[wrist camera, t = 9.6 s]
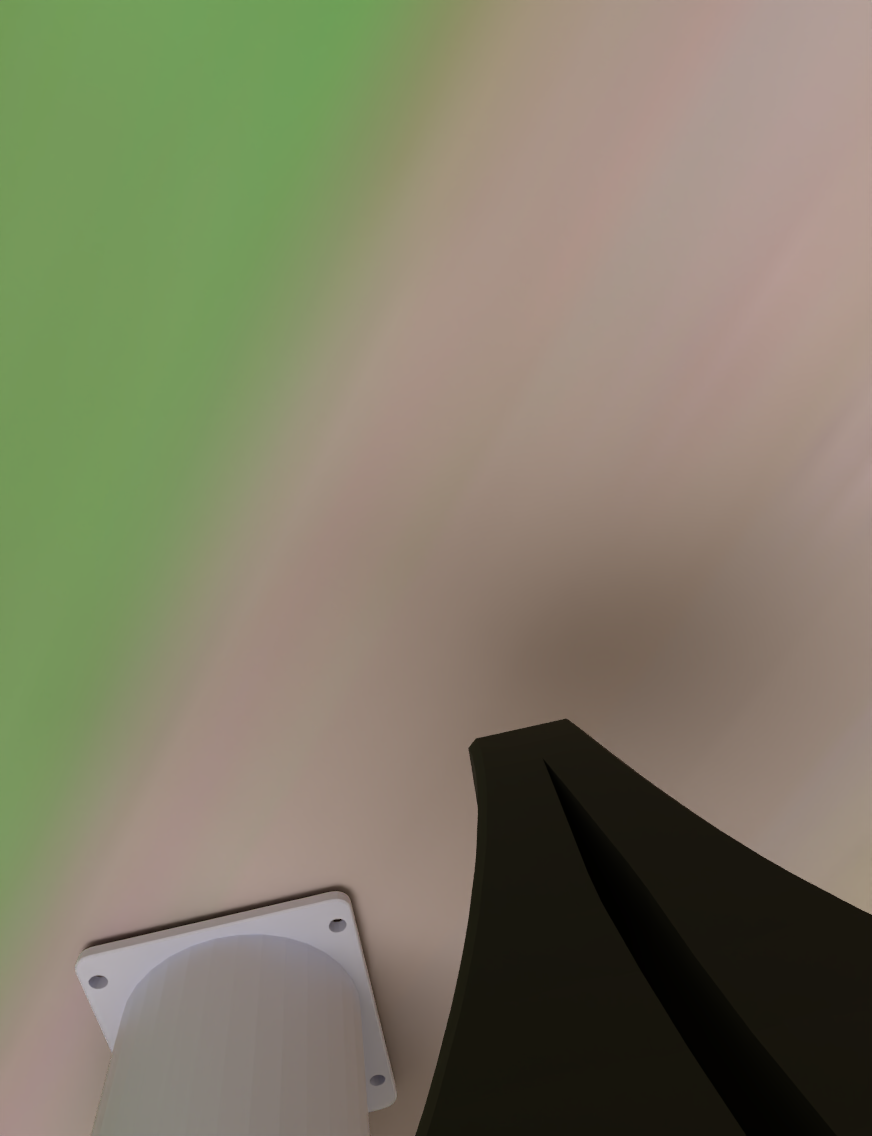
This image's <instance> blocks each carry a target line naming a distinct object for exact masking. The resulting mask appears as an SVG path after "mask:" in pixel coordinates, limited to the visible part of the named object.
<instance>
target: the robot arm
mask: <svg viewBox="0 0 872 1136" xmlns="http://www.w3.org/2000/svg"><path fill="white" fill-rule="evenodd" d="M469 754H470V760H471V766H472V773H473V779H474V786H475V792H476V798H477V805H478V825H477V849H476V863H475V872H474V880H473V888H472V896H471V904H470V912H469V919H468V926H467V932H466V938H465V943H464V949H463V954H462V960H461V965H460V970H459V974H458V979H457V984H456V988H455V993H454V998H453V1002H452V1007H451V1011H450V1015H449V1018H448V1022H447V1026H446V1030H445V1034H444V1038H443V1042H442V1046H441V1050H440V1054H439V1058H438V1062H437V1066H436V1069H435V1073H434V1076H433V1080H432V1083H431V1087H430V1090H429V1094H428V1097H427V1101H426V1104H425V1107H424V1111H423V1114H422V1117H421V1120H420V1123H419V1126H418V1129H417V1132H416V1135H415V1136H872V915H871V914H869V913H867V912H865V911H863V910H861V909H859V908H857V907H855V906H853V905H851V904H849V903H847V902H845V901H843V900H841V899H839V898H837V897H836V896H834V895H832V894H830V893H828V892H826V891H824V890H822V889H820V888H819V887H817V886H815V885H813V884H811V883H809V882H807V881H805V880H803V879H801V878H800V877H798V876H796V875H794V874H792V873H790V872H788V871H787V870H785V869H783V868H781V867H780V866H778V865H776V864H774V863H773V862H771V861H769V860H767V859H766V858H764V857H762V856H761V855H759V854H757V853H756V852H754V851H752V850H751V849H749V848H748V847H746V846H744V845H743V844H741V843H740V842H738V841H736V840H735V839H733V838H731V837H730V836H728V835H727V834H725V833H723V832H722V831H720V830H719V829H717V828H716V827H714V826H713V825H711V824H710V823H708V822H707V821H705V820H704V819H702V818H701V817H699V816H698V815H696V814H695V813H693V812H692V811H690V810H689V809H688V808H686V807H685V806H683V805H682V804H680V803H679V802H678V801H676V800H675V799H673V798H672V797H670V796H669V795H668V794H666V793H665V792H663V791H662V790H660V789H659V788H657V787H656V786H655V785H653V784H652V783H651V782H649V781H648V780H646V779H645V778H644V777H642V776H641V775H640V774H638V773H637V772H636V771H634V770H633V769H632V768H630V767H629V766H628V765H626V764H625V763H624V762H622V761H621V760H620V759H619V758H617V757H616V756H615V755H613V754H612V753H611V752H609V751H608V750H607V749H606V748H604V747H603V746H602V745H600V744H599V743H598V742H597V741H595V740H594V739H593V738H592V737H590V736H589V735H588V734H586V733H585V732H584V731H583V730H581V729H580V728H579V727H577V726H576V725H575V724H573V723H572V722H570V721H569V720H568V719H563V720H558V721H554V722H549V723H545V724H540V725H536V726H531V727H527V728H522V729H518V730H513V731H509V732H504V733H500V734H495V735H490V736H486V737H481V738H477V739H475V741H474V742H473V743H472V744H471V746H470V747H469ZM335 919H342V921H340V922H333V920H335ZM75 972H76V975H77V977H78V979H79V981H80V984H81V986H82V988H83V990H84V992H85V995H86V997H87V999H88V1001H89V1003H90V1006H91V1008H92V1010H93V1012H94V1015H95V1017H96V1019H97V1021H98V1023H99V1026H100V1028H101V1030H102V1032H103V1035H104V1037H105V1039H106V1041H107V1043H108V1046H109V1048H110V1050H111V1052H112V1056H111V1060H110V1063H109V1067H108V1071H107V1075H106V1079H105V1083H104V1087H103V1090H102V1094H101V1098H100V1102H99V1106H98V1110H97V1113H96V1117H95V1121H94V1125H93V1129H92V1133H91V1136H370V1127H369V1112H373V1111H377V1110H381V1109H384V1108H387V1107H389V1106H391V1105H392V1104H393V1103H394V1102H395V1100H396V1099H397V1092H396V1084H395V1080H394V1076H393V1072H392V1068H391V1064H390V1060H389V1056H388V1052H387V1047H386V1043H385V1039H384V1035H383V1031H382V1027H381V1023H380V1019H379V1015H378V1011H377V1006H376V1002H375V998H374V994H373V990H372V986H371V982H370V978H369V974H368V970H367V965H366V961H365V957H364V953H363V949H362V945H361V941H360V937H359V933H358V929H357V924H356V920H355V916H354V912H353V908H352V904H351V900H350V898H349V896H348V895H346V894H345V893H343V892H339V891H332V892H327V893H323V894H318V895H314V896H310V897H305V898H301V899H297V900H292V901H288V902H284V903H279V904H275V905H271V906H266V907H262V908H258V909H253V910H249V911H245V912H240V913H236V914H232V915H227V916H223V917H219V918H214V919H210V920H206V921H202V922H197V923H193V924H189V925H184V926H180V927H176V928H171V929H167V930H163V931H158V932H154V933H150V934H145V935H141V936H137V937H132V938H128V939H124V940H119V941H115V942H111V943H106V944H102V945H98V946H93V947H90V948H87V949H85V950H83V951H82V952H81V953H80V955H79V957H78V960H77V962H76V965H75ZM96 975H101V976H104V977H98V976H96Z"/></svg>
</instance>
